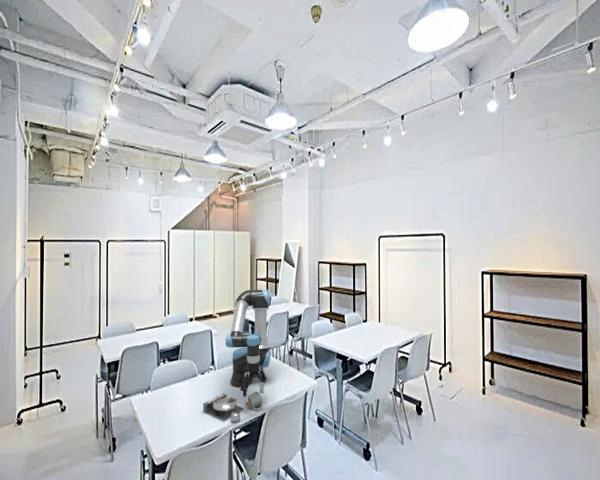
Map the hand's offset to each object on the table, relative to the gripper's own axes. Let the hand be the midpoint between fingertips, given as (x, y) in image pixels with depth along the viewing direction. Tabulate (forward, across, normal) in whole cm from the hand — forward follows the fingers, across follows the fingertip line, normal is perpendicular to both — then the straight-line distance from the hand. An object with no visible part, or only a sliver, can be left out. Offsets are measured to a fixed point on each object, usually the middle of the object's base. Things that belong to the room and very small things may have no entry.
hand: (254, 397), depth 197 cm
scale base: (+6, +14, -12) cm, 19 cm away
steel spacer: (+6, +16, +2) cm, 18 cm away
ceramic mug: (+6, 0, 0) cm, 6 cm away
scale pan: (+4, +14, -10) cm, 17 cm away
